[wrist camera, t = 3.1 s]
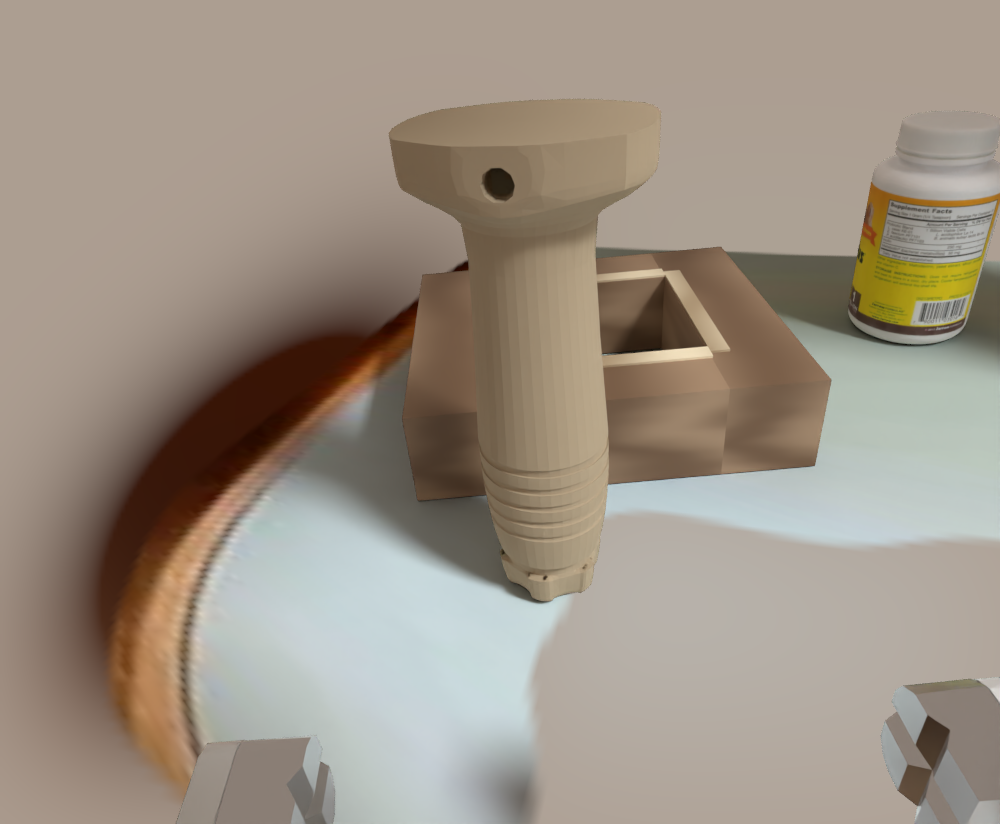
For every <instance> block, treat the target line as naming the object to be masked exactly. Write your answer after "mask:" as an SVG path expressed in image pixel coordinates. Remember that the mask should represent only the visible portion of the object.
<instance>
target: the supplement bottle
mask: <svg viewBox="0 0 1000 824" xmlns="http://www.w3.org/2000/svg"><path fill="white" fill-rule="evenodd" d="M999 136H1000V118H998V117H996V116H992V115H988V114H984V113H978V112H968V111H932V112H924V113H917V114H913V115H910V116H907V117H905V118H904V119H903V121H902V125H901V129H900V133H899V137H898V140H897V142H896V145H897V148H896V155H894V156H892V157H889V158H887V159H886V160H883V161H882V162H881V163H880V164H878V166H877V167H876V168H875V170H874V173H873V177H872V182H871V187H870V192H869V197H868V203H867V208H866V213H865V218H864V224H863V229H862V235H861V240H860V245H859V249H858V255H857V261H856V266H855V272H854V277H853V283H852V288H851V293H850V298H849V305H848V314H849V317H850V319H851V321H852V322H853V323H854V325H855V326H856V327H858V328H859V329H860V330H862V331H863V332H865V333H867V334H869V335H871V336H874V337H876V338H879V339H883V340H887V341H891V342H896V343H903V344H931V343H936V342H941V341H944V340H947V339H950V338H952V337H954V336H955V335H957V334H958V333H959V332H961V330H962V329H963V328H964V327H965V325H966V322H967V319H968V316H969V313H970V309H971V306H972V302H973V299H974V296H975V292H976V289H977V285H978V282H979V278H980V275H981V272H982V269H983V265H984V262H985V258H986V255H987V251H988V248H989V244H990V241H991V238H992V234H993V231H994V228H995V224H996V221H997V217H998V214H999V210H1000V163H999V162H997V161H995V160H994V159H992V158H994V156H995V152H996V149H997V147H998V139H999Z"/></svg>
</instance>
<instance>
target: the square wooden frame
mask: <svg viewBox="0 0 1000 824" xmlns="http://www.w3.org/2000/svg"><path fill="white" fill-rule="evenodd" d="M596 273H597V289H598V306H599V322H600V338H601V350H602V354H603V353H613V352H624V351H635V350H646V349H657V348H662V350H661V351H650V352H639V353H628V354H618V355H607V356H602V362H603V374H604V386H605V398H606V409H607V421H608V439H609V452H608V455H609V470H608V473H609V475H608V484H614V483H625V482H636V481H647V480H659V479H670V478H681V477H693V476H704V475H715V474H726V473H738V472H749V471H760V470H772V469H783V468H794V467H805V466H815V462H816V457H817V452H818V447H819V442H820V437H821V431H822V426H823V421H824V416H825V411H826V406H827V400H828V395H829V390H830V385H831V379H830V378H829V376H828V375H827V374H826V373H825V372H824V370H823V369H822V368H821V367H820V365H819V364H818V363H817V362H816V361H815V359H814V358H813V357H812V356H811V355H810V353H809V352H808V351H807V350H806V349H805V347H804V346H803V345H802V344H801V343H800V341H799V340H798V339H797V338H796V337H795V335H794V334H793V333H792V332H791V331H790V329H789V328H788V327H787V326H786V325H785V323H784V322H783V321H782V320H781V319H780V317H779V316H778V315H777V314H776V312H775V311H774V310H773V309H772V308H771V306H770V305H769V304H768V303H767V302H766V300H765V299H764V298H763V297H762V296H761V294H760V293H759V292H758V291H757V290H756V288H755V287H754V286H753V285H752V284H751V282H750V281H749V280H748V279H747V278H746V276H745V275H744V274H743V273H742V272H741V270H740V269H739V268H738V267H737V266H736V264H735V263H734V262H733V261H732V259H731V258H730V257H729V256H728V255H727V253H726V252H725V251H724V250H723V249H722V247H713V248H703V249H692V250H681V251H671V252H660V253H649V254H639V255H628V256H617V257H607V258H596ZM402 422H403V427H404V432H405V437H406V442H407V448H408V453H409V458H410V463H411V469H412V474H413V479H414V484H415V489H416V495H417V500H418V501H422V500H433V499H444V498H456V497H467V496H478V495H487V494H486V491H485V486H484V480H483V473H482V466H481V458H480V450H479V440H478V424H477V401H476V379H475V357H474V337H473V323H472V308H471V293H470V279H469V270H468V271H457V272H447V273H436V274H425V275H423V276H422V282H421V289H420V296H419V303H418V310H417V317H416V324H415V331H414V338H413V345H412V352H411V359H410V366H409V373H408V380H407V387H406V394H405V401H404V408H403V415H402Z"/></svg>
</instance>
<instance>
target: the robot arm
mask: <svg viewBox="0 0 1000 824" xmlns="http://www.w3.org/2000/svg"><path fill="white" fill-rule="evenodd" d="M892 703H893V705H894V707H895V708H896V710H897V712H896V713H895V714H893V715H892V716H891V717H889V718H888V719H887V720H886V721H885V722H884V726H883V730H882V733H881V741H882V751H883V756H884V759H885V763H886V766H887V769H888V772H889V774H890V776H891V778H892V780H893V782H894V784H895V786H896V788H897V790H898V791H899V792H900V793H901V794H903V795H904V796H905V797H907V798H908V799H909V800H910V801H912V802H913V803H914V804H915V805H917V812H916V818H915V824H1000V677H996V678H995V677H994V678H984V679H964V680H954V681H945V682H935V683H925V684H915V685H906V686H902V687H900V688H898V689H897V690H896V691H895V693H894V696H893V699H892ZM321 753H322V746H321V744H320V742H319V740H318V738H317V735H311V736H299V737H286V738H273V739H261V740H240V741H229V742H218V743H207V745H206V746H205V748H204V749H203V751H202V752H201V754H200V755H199V757H198V759H197V762H196V765H195V768H194V771H193V774H192V777H191V780H190V783H189V786H188V789H187V792H186V795H185V798H184V801H183V804H182V807H181V810H180V813H179V815H178V818H177V821H176V824H333V822H334V815H335V788H334V781H333V776H332V773H331V770H330V767H329V766H327V765H326V764H324V763H322V762H321V761H320V759H321Z"/></svg>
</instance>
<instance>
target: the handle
mask: <svg viewBox="0 0 1000 824" xmlns="http://www.w3.org/2000/svg"><path fill="white" fill-rule="evenodd" d="M660 126H661V111H660V110H659V108H658V107H656V106H654V105H651V104H648V103H645V102H632V101H617V100H599V99H557V100H530V101H514V102H513V101H512V102H500V103H490V104H482V105H473V106H465V107H457V108H450V109H441V110H437V111H433V112H429V113H425V114H422V115H418V116H416V117H413V118H411V119H408V120H406V121H404V122H402V123H400V124H398V125H397V126H395V127H394V128H392V129H391V131H390V132H389V138H390V144H391V150H392V156H393V162H394V167H395V172H396V177H397V180H398V184H399V186H400V188H401V189H402V190H403V191H405V192H407V193H409V194H410V195H412V196H414V197H416V198H418V199H420V200H421V201H423V202H425V203H427V204H430V205H432V206H434V207H436V208H439V209H440V210H442V211H444V212H446V213H448V214H450V215H451V216H453V217H454V218H455V219H456V220H457V221H458V222H459V223H461V227H462V231H463V236H464V241H465V246H466V251H467V256H468V264H469V279H470V293H471V308H472V323H473V337H474V357H475V379H476V401H477V424H478V440H479V450H480V458H481V466H482V473H483V480H484V486H485V491H486V494H487V500H488V505H489V509H490V514H491V517H492V521H493V524H494V528H495V531H496V533H497V536H498V539H499V542H500V544H501V546H502V548H503V549H501V550H500V555H501V560H502V564H503V567H504V570H505V572H506V575H507V578H508V579H509V580H510V581H511V582H513V583H517V584H520V585H521V586H523V587H525V588H526V589H527V590H528V591H529V592H530V593H531V596H532V598H534V599H537V600H540V601H552V600H553V599H554V598H556V597H558V596H560V595H563V594H568V593H575V592H579V593H581V592H583V591H585V590H586V589H587V588H588V587H589V586H590V585H591V583H592V578H593V572H594V565H595V563H596V561H597V557H598V552H599V546H600V534H601V531H602V527H603V521H604V515H605V508H606V498H607V486H608V475H609V473H608V470H609V455H608V452H609V439H608V421H607V409H606V398H605V386H604V374H603V362H602V350H601V338H600V322H599V306H598V289H597V273H596V256H595V247H596V234H597V221H598V214H599V213H600V212H601V211H602V210H603V209H605V208H606V207H608V206H610V205H612V204H613V203H615V202H617V201H619V200H621V199H623V198H625V197H626V196H628V195H630V194H631V193H632V192H634V191H635V190H636V189H638V188H639V187H640V186H642V185H643V184H644V183H645V182H646V181H647V180H648V179H649V178H650V177H651V176H652V175H653V174H654V172H655V171H656V169H657V166H658V159H659V148H660Z"/></svg>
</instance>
